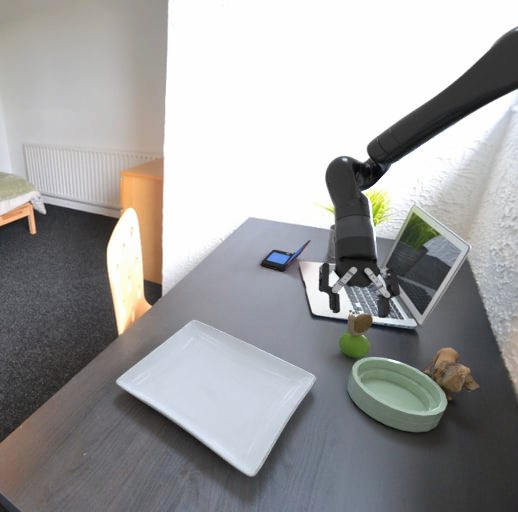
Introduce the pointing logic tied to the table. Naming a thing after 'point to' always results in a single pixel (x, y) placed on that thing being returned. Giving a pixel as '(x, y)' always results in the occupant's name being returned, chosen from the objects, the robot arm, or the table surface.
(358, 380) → the dish
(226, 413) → the square plate
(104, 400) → the table surface
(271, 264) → the handheld console
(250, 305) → the table surface
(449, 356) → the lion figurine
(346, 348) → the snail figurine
